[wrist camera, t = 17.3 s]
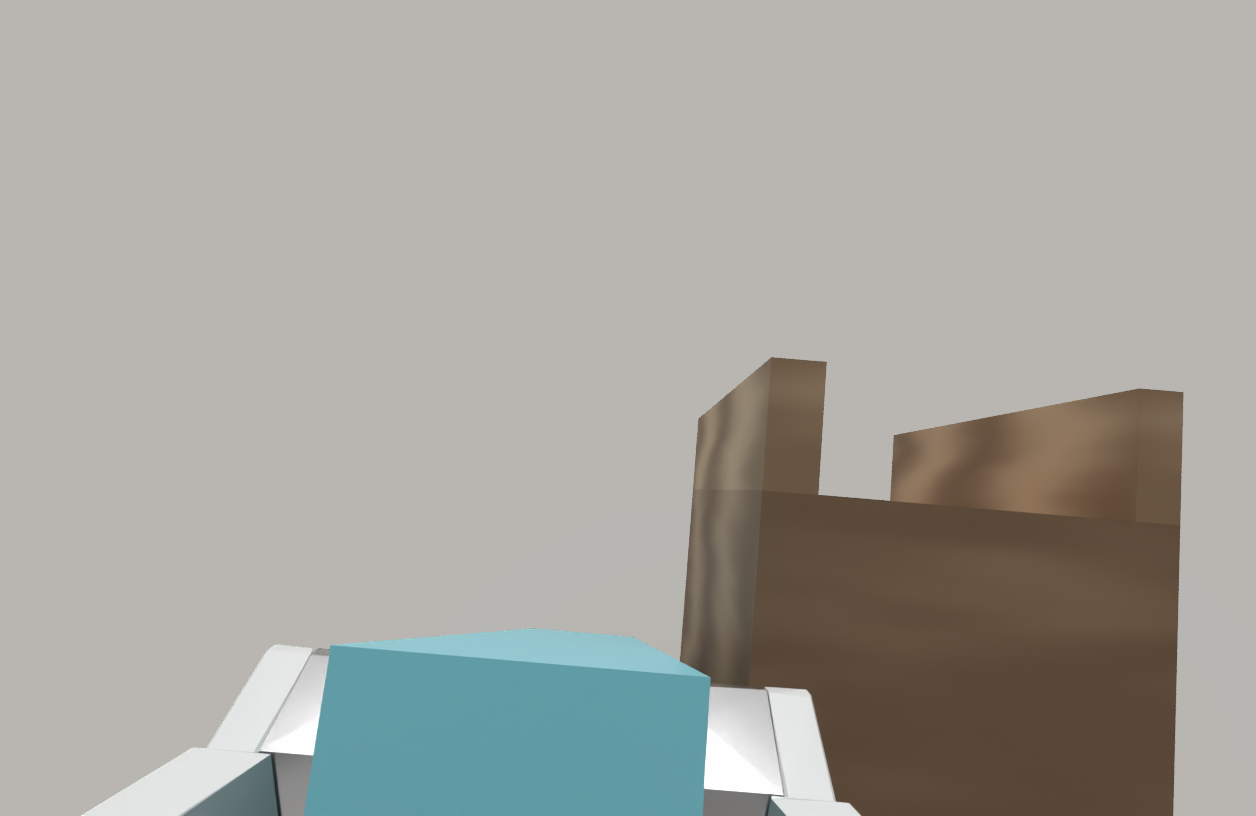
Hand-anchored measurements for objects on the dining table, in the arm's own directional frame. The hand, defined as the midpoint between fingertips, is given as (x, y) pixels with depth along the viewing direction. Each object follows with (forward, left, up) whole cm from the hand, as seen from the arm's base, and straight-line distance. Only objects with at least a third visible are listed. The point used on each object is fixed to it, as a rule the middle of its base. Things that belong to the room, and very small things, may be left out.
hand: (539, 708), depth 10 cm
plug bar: (-6, -4, -4) cm, 8 cm away
